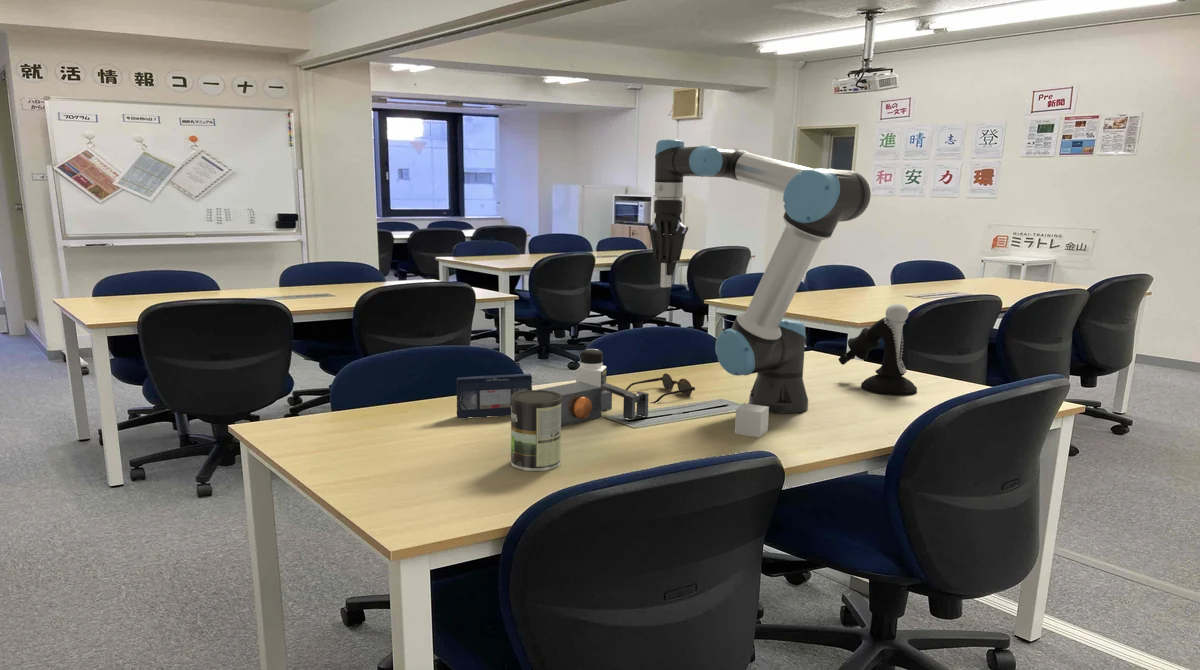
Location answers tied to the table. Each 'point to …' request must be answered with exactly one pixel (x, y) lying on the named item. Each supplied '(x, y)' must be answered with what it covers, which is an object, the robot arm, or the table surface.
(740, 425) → the white cube
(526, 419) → the coffee can
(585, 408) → the pin
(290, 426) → the table surface
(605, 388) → the keeper
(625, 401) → the bracket
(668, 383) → the eyeglasses
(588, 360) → the medicine bottle
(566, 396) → the hitch block
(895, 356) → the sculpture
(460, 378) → the vhs cassette tape
